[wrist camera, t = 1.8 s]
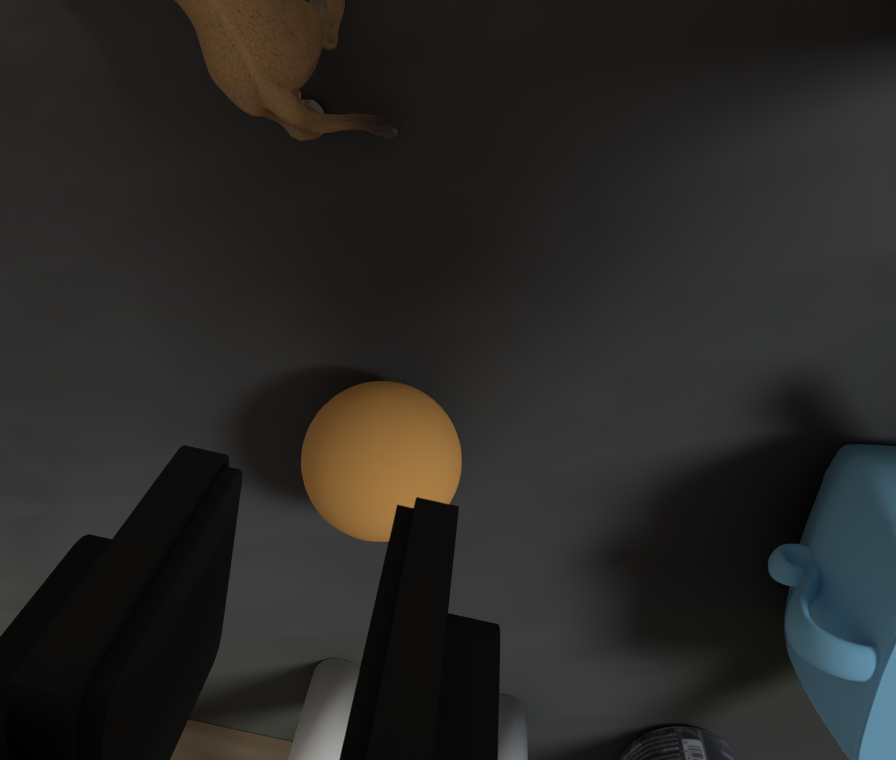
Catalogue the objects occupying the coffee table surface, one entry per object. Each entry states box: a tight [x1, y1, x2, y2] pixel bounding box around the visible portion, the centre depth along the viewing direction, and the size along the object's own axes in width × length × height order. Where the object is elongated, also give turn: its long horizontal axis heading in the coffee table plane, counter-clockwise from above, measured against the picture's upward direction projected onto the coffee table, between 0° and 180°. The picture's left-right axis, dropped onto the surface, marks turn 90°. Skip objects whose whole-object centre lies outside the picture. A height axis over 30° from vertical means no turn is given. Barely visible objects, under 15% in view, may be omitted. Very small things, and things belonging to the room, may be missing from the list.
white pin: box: [288, 658, 360, 760], centre depth 37 cm, size 2×2×8 cm
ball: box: [301, 381, 462, 542], centre depth 32 cm, size 6×6×6 cm
